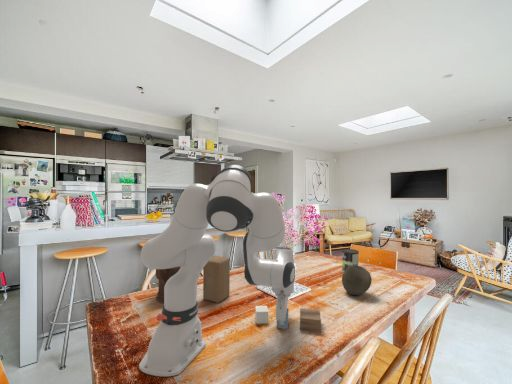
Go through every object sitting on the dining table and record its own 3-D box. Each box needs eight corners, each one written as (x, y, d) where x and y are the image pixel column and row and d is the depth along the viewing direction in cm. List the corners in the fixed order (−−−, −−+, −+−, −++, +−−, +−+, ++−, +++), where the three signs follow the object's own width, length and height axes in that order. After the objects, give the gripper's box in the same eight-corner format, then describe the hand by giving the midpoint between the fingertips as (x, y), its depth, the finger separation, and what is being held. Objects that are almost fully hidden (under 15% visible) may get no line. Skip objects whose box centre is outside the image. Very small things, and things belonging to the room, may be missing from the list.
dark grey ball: (352, 301, 119) (352, 271, 119) (336, 289, 133) (337, 262, 133) (376, 299, 122) (377, 269, 122) (359, 287, 136) (359, 261, 136)
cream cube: (268, 323, 100) (268, 311, 100) (256, 323, 99) (256, 311, 99) (266, 317, 105) (266, 305, 105) (255, 317, 104) (255, 305, 104)
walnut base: (320, 333, 94) (320, 320, 93) (299, 330, 95) (300, 318, 95) (319, 321, 101) (319, 310, 101) (300, 319, 103) (300, 308, 103)
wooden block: (202, 299, 120) (202, 259, 120) (214, 291, 129) (214, 254, 129) (218, 304, 116) (218, 262, 116) (230, 295, 125) (230, 257, 124)
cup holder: (199, 290, 131) (199, 244, 131) (175, 312, 108) (175, 256, 108) (169, 286, 136) (169, 242, 135) (139, 307, 112) (139, 253, 112)
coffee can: (344, 273, 159) (344, 252, 159) (340, 268, 169) (341, 248, 169) (360, 274, 158) (360, 253, 157) (356, 269, 168) (356, 249, 168)
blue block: (287, 328, 96) (287, 313, 96) (276, 327, 97) (276, 312, 96) (288, 322, 100) (288, 308, 100) (277, 321, 101) (277, 307, 101)
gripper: (289, 298, 87) (289, 336, 87) (291, 278, 107) (291, 308, 108) (272, 296, 88) (271, 334, 89) (277, 276, 109) (277, 307, 109)
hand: (282, 320), depth 98 cm, fingers closed on blue block, 4 cm apart
